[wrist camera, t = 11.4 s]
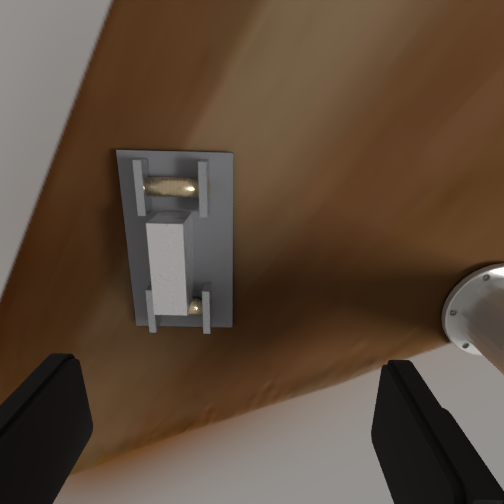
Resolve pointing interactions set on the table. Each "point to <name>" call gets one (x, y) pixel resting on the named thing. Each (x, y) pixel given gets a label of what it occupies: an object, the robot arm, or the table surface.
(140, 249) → the grey flat plate
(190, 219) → the tall grey pillar block
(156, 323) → the twin roller tray
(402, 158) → the table surface
